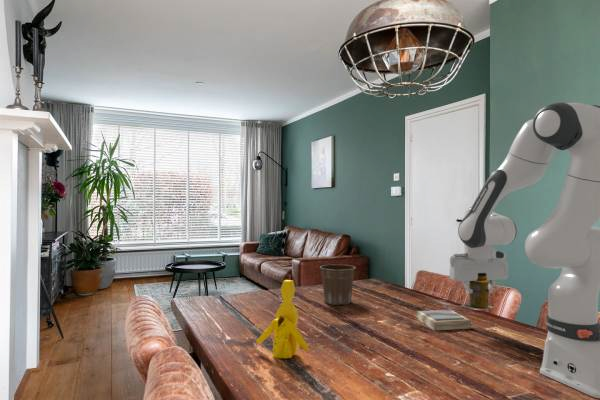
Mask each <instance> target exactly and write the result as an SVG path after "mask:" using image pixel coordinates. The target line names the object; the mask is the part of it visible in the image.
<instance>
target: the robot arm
mask: <svg viewBox="0 0 600 400" xmlns="http://www.w3.org/2000/svg"><path fill="white" fill-rule="evenodd" d="M556 149H557V150H560V151H565V150H568V152H569V154H570V161H569V166H568V169H567V172H566V176H565V180H564V184H563V186H562V190H561V193H560V195H559V199H558V202H557V203H556V204H555V205H556V206H554V209H553V210H552V211H551V213H550V215H549V216H547V218H546V219H545V221H544V222H543V223H542V224H541V225H540V226H539V227H538V228H536V229H535V230H533V231H531V232H530V233H529V234H528V235H527V236H526V238H525V242H524V251H525V255H526V257H527V259H528V260H529V261H530V262H531V263H532V264H534V265H535V266H539V267H542V268H547V269H553V270H554V269H555V270H556V269H562V270H561V273H560V274H559V276H558V278H557V279H556V280H555V281H554V282H553V283H551V284H550V285H549V288H548V290H547V295H548V297H547V298H548V300H547V303H548V304H547V307H548V309H547V311H548V314H546V318H545V319H546V320H545V324H546V325H545V326H546V327H545V328H546V330H547V336H546V338H545V341H544V347H543V357H542V361H541V367H540V369H539V373H540V374H541V375H542V376H545V377H548V378H550V379H552V380H554V381H557V382H559V383H561V384H563V385H566V386H568V387H569V388H573V389H575V390H577V391H579V392H581V393H583V394H585V395H587V396H590V397H593V398H596V399H600V321H599V317H598V316H599V295H600V227H597V226H594V225H595V224H596V223H597V222H598V221H599V220H600V106H599V105H596V104H585V103H583V102H555V103H550V104H548V105H546V106H543V107H542V108H540V109H539V110H538V111H537V113H535V114H534V117H533V118H532V119H530V120H529V119H528V120H527V121H526V122H525V123H524V124H523V125H522V127H521V128H520V130H518V132H517V134H516V136H515V137H514V139H513V142H512V144H511V146H510V147H509V150H508V153H507V155H506V157H505V158H504V160H503V161H502V163H501V164H500V166H499V167H498V168H497V169H496V170H495V171H493V172H492V173H491V174H490V175H489V177H488V178H487V180H485V183H483V186H482V188H481V189H480V192H479V193H478V195H477V197H476V198H475V200H474V202H473V204H472V206H469V207H468V208H467V209H466V210H465V213H464V217H463V219H462V220H461V221H460V222H459V225H458V230H457V233H458V237H459V239H460V240H461V242H462V243H463V245H464V247H463V248H464V249H463V250H464V252H463V253H453V255H452V256H450V259H449V265H450V266H449V275H448V276H449V279H450V280H451V281H453V282H461V283H462V285H463V286H464V288H465V293H466V295H469V294H473V292H472V291H473V289H471V288H470V287H469V284H470V281H477V279H478V273H486V274H487V275H486V277H487V279H486V280H488V294H493V288H494V287H495V285H496V281H502V280H505V281H506V280H507V279H508V278H509V266H508V264H509V263H508V261H507V260H506V259H507V253H506V252H505V251H501V250H498V249H495V248H493V247H496V246H497V247H498V246H507V245H510V244H512V243H513V242H514V241H515V239H516V237H517V232H518V230H517V225H516V223H515V222H514V221H513V219H512V218H511V217H509V216H505V215H502V214H499V213H497V212H495V211H494V210H495V209H496V207H497V205H498V204H499V202H500V201H501V199H502V198H505V196H507V195H508V194H510V193H512V192H515V191H517V190H520V189H523V188H526V187H530V186H532V185H534V184H535V183H537V182H539V181H540V180H541V178H542V177H543V176H544V175H545V173H546V171H547V169H548V167H549V164H550V162H551V160H552V157H553V155H554V153H555V151H556Z"/></svg>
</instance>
